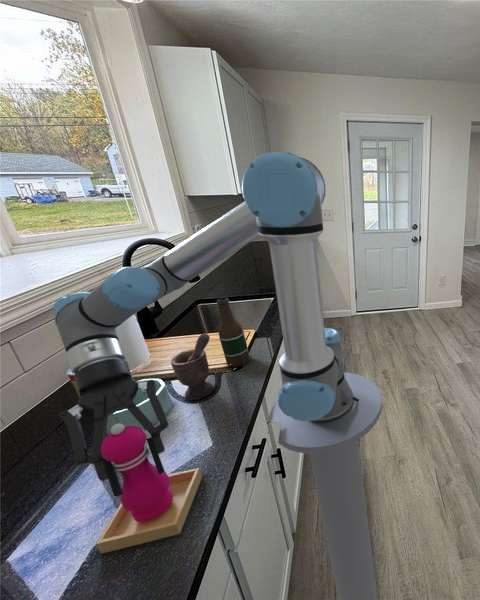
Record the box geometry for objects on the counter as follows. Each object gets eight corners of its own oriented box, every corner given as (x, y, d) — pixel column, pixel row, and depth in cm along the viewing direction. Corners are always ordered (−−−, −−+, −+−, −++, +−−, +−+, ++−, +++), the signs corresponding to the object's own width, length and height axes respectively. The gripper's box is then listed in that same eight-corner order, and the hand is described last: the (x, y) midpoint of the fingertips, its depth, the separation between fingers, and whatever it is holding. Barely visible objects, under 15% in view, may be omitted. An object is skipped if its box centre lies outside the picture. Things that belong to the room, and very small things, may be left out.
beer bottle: (254, 360, 112) (239, 298, 103) (231, 370, 106) (213, 305, 98) (245, 353, 117) (230, 293, 108) (223, 362, 111) (205, 299, 103)
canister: (154, 351, 122) (136, 303, 114) (148, 370, 109) (128, 318, 102) (100, 364, 114) (78, 314, 107) (88, 386, 101) (61, 331, 94)
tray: (202, 476, 68) (199, 467, 67) (179, 534, 57) (175, 524, 56) (138, 490, 65) (133, 481, 64) (101, 553, 54) (95, 544, 53)
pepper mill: (133, 534, 56) (88, 449, 48) (127, 507, 60) (85, 426, 53) (180, 505, 60) (145, 423, 53) (171, 482, 65) (138, 404, 58)
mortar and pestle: (229, 379, 101) (213, 324, 94) (224, 395, 94) (206, 336, 86) (188, 388, 98) (168, 331, 91) (180, 405, 90) (157, 345, 83)
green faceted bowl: (180, 393, 96) (173, 374, 93) (156, 429, 82) (147, 407, 79) (115, 404, 92) (106, 384, 90) (80, 443, 78) (68, 421, 76)
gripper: (20, 382, 51) (59, 522, 46) (156, 342, 63) (199, 449, 58) (38, 395, 57) (75, 520, 51) (160, 355, 68) (200, 454, 63)
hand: (140, 483), depth 55 cm, fingers closed on pepper mill, 5 cm apart
